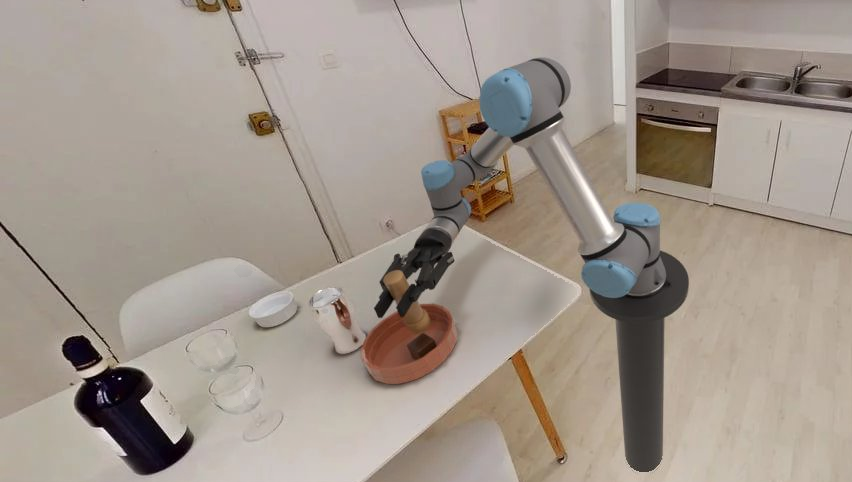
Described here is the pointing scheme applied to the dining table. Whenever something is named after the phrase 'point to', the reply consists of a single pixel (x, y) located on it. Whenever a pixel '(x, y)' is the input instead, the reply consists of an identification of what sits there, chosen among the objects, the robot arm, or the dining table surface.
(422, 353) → the walnut block
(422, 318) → the muddler
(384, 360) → the bowl
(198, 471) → the dining table surface
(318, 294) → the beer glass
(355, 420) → the dining table surface
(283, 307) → the ramekin
